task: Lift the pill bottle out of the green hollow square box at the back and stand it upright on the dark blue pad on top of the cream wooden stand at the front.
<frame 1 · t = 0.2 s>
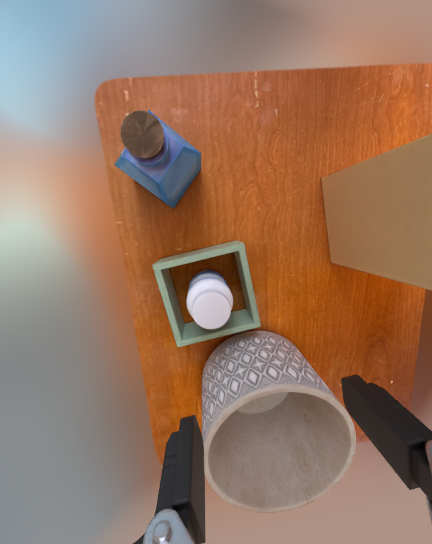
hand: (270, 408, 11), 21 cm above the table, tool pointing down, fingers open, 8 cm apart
pill bottle: (208, 286, 31), resting in green hollow square box
perfume bottle: (167, 174, 28), on the table
planter: (252, 372, 35), on the table
green hollow square box: (208, 286, 31), on the table
stand: (366, 212, 30), on the table
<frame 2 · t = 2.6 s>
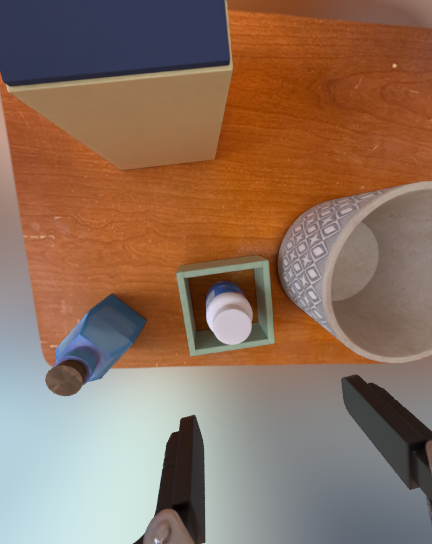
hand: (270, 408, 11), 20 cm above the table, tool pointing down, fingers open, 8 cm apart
pill bottle: (223, 296, 31), resting in green hollow square box
perfume bottle: (116, 321, 31), on the table
planter: (328, 258, 31), on the table
green hollow square box: (223, 297, 31), on the table
stand: (159, 111, 26), on the table
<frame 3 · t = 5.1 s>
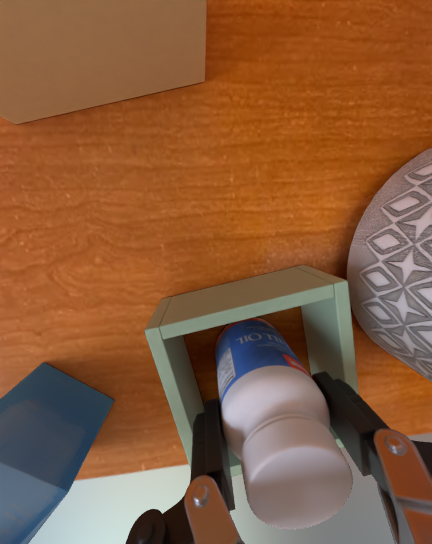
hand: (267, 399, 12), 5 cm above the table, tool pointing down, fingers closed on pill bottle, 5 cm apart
pill bottle: (246, 344, 17), resting in green hollow square box, touching gripper
perfume bottle: (61, 407, 18), on the table
green hollow square box: (247, 345, 17), on the table
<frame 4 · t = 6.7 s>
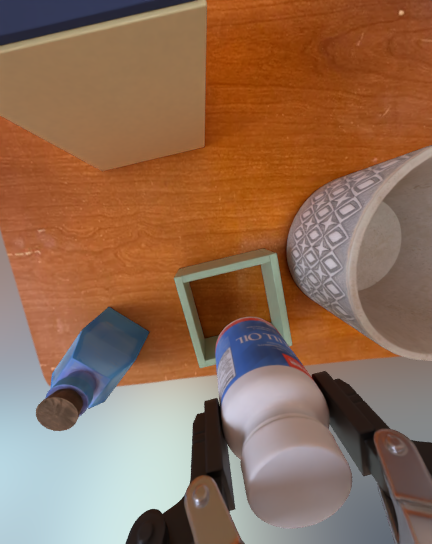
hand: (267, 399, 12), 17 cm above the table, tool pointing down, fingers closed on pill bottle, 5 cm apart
pill bottle: (246, 344, 17), point 11 cm above the table, touching gripper
perfume bottle: (117, 336, 29), on the table
planter: (343, 244, 28), on the table
green hollow square box: (230, 298, 28), on the table
stand: (137, 100, 23), on the table
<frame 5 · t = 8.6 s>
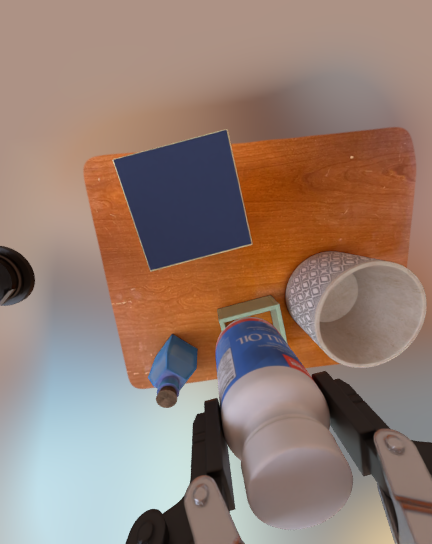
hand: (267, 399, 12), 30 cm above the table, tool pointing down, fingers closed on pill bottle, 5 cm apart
pill bottle: (247, 344, 17), point 24 cm above the table, touching gripper
pad: (186, 204, 23), resting on stand
perfume bottle: (176, 352, 44), on the table
planter: (322, 290, 43), on the table
green hollow square box: (249, 326, 44), on the table
stand: (193, 213, 38), on the table
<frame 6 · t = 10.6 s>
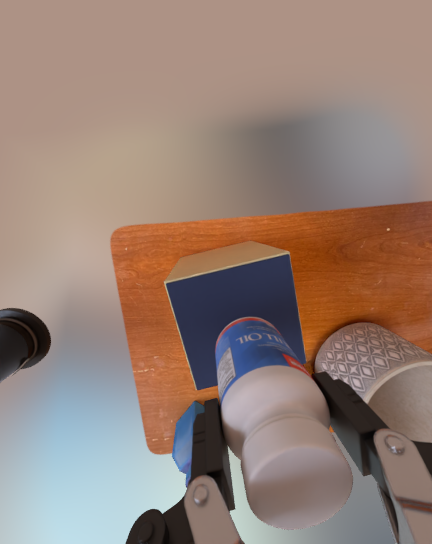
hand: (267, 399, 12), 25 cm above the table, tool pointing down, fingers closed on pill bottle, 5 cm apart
pill bottle: (246, 344, 17), point 20 cm above the table, touching gripper
pad: (239, 324, 21), resting on stand
perfume bottle: (198, 418, 42), on the table
planter: (351, 357, 42), on the table
stand: (223, 282, 37), on the table
when the fingers open (22 cm above the table, at t = 12.0 s): pill bottle stays where it is, resting on pad.
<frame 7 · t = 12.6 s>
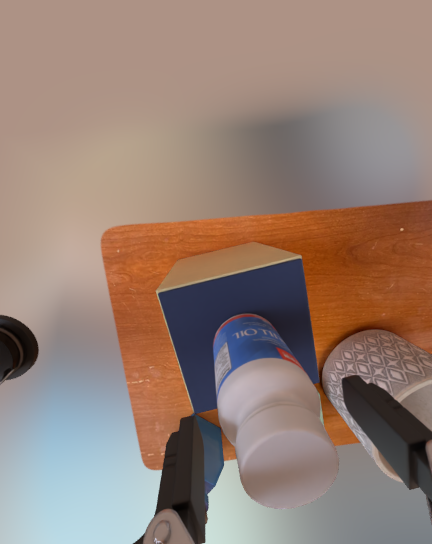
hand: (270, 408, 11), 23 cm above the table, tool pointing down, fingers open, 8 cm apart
pill bottle: (243, 340, 18), point 16 cm above the table, touching pad
pad: (244, 339, 18), resting on stand
perfume bottle: (197, 431, 40), on the table
planter: (360, 366, 39), on the table
stand: (224, 287, 34), on the table
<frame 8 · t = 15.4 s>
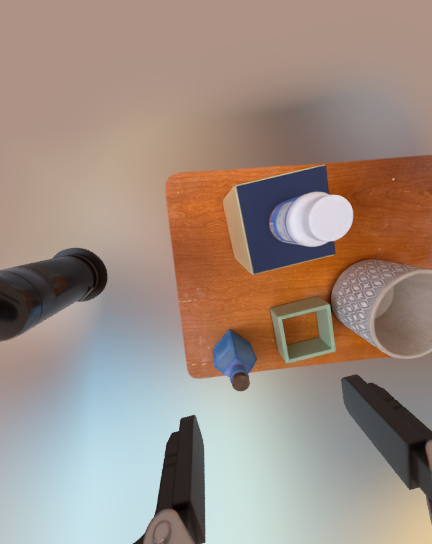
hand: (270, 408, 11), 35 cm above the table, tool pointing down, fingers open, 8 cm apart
pill bottle: (287, 221, 28), point 16 cm above the table, touching pad
pad: (287, 221, 28), resting on stand
perfume bottle: (231, 345, 50), on the table
planter: (361, 293, 49), on the table
green hollow square box: (297, 324, 49), on the table
stand: (256, 223, 44), on the table
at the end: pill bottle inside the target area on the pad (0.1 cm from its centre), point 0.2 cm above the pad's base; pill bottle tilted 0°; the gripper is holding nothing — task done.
